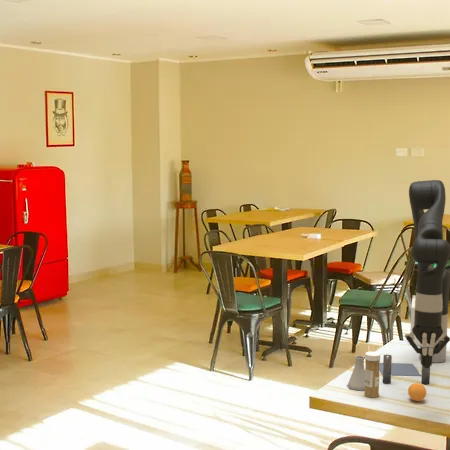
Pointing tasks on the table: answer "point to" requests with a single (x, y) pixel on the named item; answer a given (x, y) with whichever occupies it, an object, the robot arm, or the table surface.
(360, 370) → the flask
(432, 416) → the table surface
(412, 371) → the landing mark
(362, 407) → the table surface
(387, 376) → the post
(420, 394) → the ball
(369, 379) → the sprinkles bottle
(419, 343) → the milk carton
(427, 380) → the post
